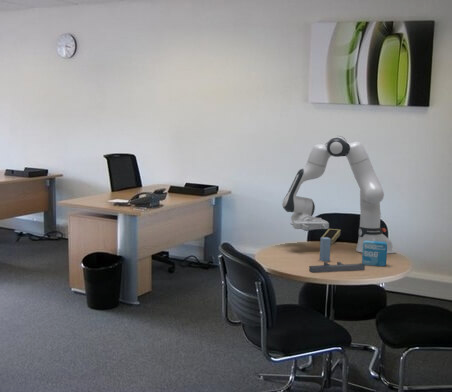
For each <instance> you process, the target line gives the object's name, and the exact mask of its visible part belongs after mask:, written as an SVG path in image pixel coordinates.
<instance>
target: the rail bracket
mask: <svg viewBox="0 0 452 392" xmlns="http://www.w3.org/2000/svg"><path fill="white" fill-rule="evenodd" d="M365 268H366V265H364V264H363V263H345V264H344V263H342V262H340V261H337V262H336V264H330V263H328V262H327V261H326V262H323V265H309V266H308V269H309V270H308V271H309V272H310V273H329V272H331V273H332V272H334V273H335V272H351V271H353V272H354V271H365Z"/></svg>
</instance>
